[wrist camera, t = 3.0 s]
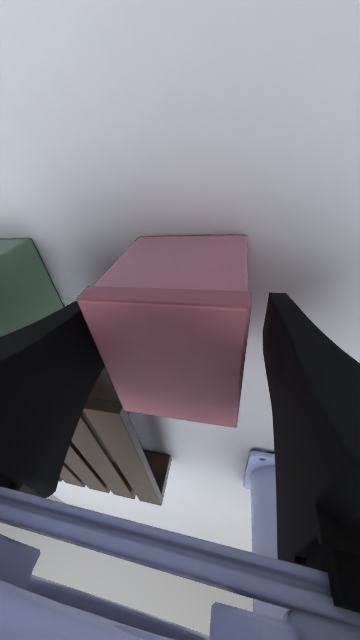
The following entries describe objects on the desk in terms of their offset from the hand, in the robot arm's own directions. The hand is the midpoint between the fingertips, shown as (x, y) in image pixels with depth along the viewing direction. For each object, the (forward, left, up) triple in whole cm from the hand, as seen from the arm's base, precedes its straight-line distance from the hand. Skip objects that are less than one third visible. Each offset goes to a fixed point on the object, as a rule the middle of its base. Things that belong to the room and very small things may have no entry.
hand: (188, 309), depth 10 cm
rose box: (0, 0, -1) cm, 1 cm away
